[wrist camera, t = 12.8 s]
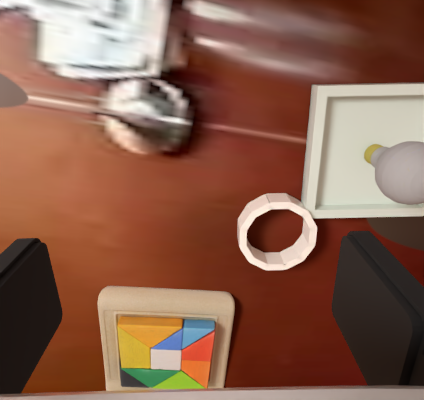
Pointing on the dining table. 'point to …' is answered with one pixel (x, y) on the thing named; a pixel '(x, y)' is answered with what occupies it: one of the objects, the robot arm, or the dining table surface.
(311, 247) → the holder ring
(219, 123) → the dining table surface
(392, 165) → the light bulb
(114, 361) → the wooden puzzle
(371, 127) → the tray
